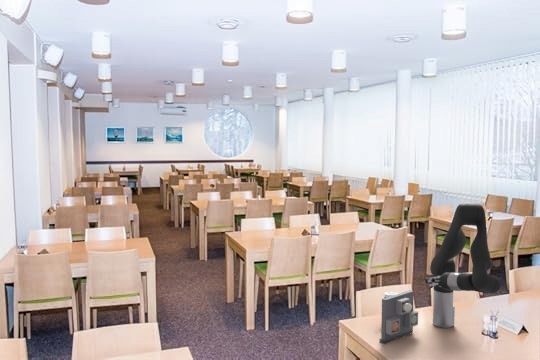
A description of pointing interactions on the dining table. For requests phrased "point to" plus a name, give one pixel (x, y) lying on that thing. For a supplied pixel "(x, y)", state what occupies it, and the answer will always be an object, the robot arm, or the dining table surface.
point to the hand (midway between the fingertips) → (426, 280)
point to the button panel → (397, 317)
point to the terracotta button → (395, 326)
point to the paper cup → (389, 294)
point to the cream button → (406, 307)
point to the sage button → (413, 319)
